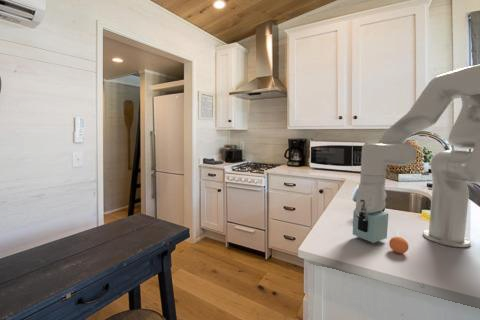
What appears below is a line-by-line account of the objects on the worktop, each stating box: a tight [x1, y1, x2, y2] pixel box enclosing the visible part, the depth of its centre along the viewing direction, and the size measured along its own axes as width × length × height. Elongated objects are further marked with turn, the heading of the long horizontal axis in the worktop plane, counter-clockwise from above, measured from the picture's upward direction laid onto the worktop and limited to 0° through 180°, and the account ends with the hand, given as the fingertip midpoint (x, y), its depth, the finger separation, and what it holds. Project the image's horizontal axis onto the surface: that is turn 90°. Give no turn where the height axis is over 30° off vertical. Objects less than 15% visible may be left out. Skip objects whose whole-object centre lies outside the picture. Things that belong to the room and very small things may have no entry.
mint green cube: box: [352, 210, 389, 244], centre depth 82 cm, size 8×8×9 cm
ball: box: [388, 236, 409, 254], centre depth 73 cm, size 5×5×5 cm
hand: (370, 228), depth 82 cm, fingers closed on mint green cube, 7 cm apart
